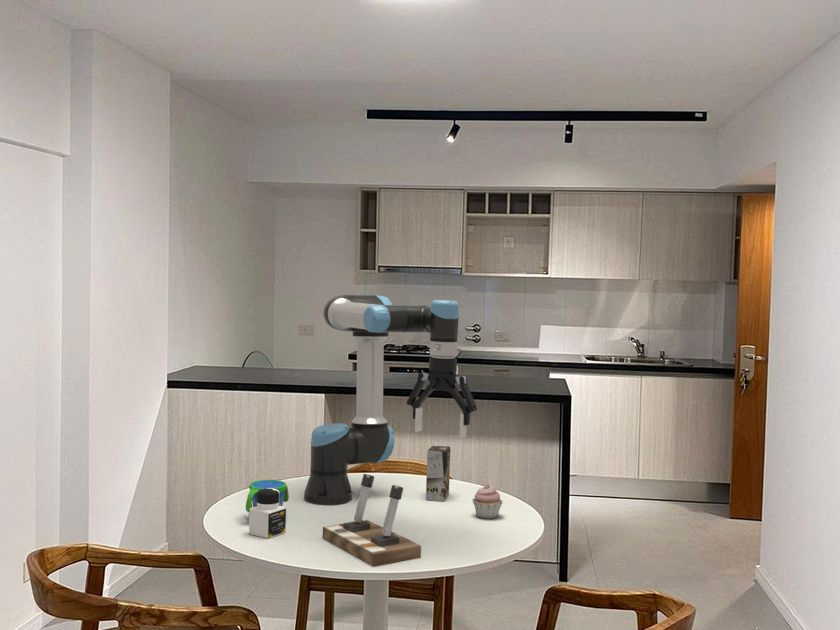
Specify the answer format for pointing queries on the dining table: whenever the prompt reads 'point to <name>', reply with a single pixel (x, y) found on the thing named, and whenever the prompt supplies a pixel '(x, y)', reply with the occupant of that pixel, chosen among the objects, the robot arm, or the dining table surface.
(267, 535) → the medicine bottle
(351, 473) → the dining table surface
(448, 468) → the coffee box
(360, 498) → the lever
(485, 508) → the cupcake
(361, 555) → the switch unit
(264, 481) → the snack cup
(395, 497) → the lever
